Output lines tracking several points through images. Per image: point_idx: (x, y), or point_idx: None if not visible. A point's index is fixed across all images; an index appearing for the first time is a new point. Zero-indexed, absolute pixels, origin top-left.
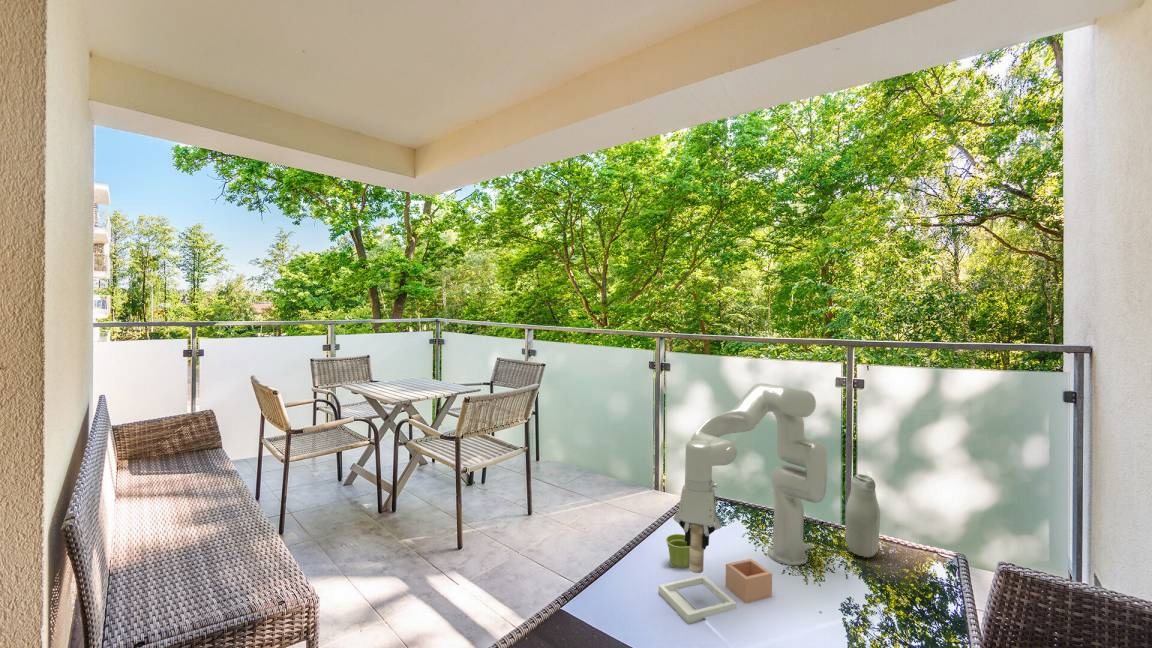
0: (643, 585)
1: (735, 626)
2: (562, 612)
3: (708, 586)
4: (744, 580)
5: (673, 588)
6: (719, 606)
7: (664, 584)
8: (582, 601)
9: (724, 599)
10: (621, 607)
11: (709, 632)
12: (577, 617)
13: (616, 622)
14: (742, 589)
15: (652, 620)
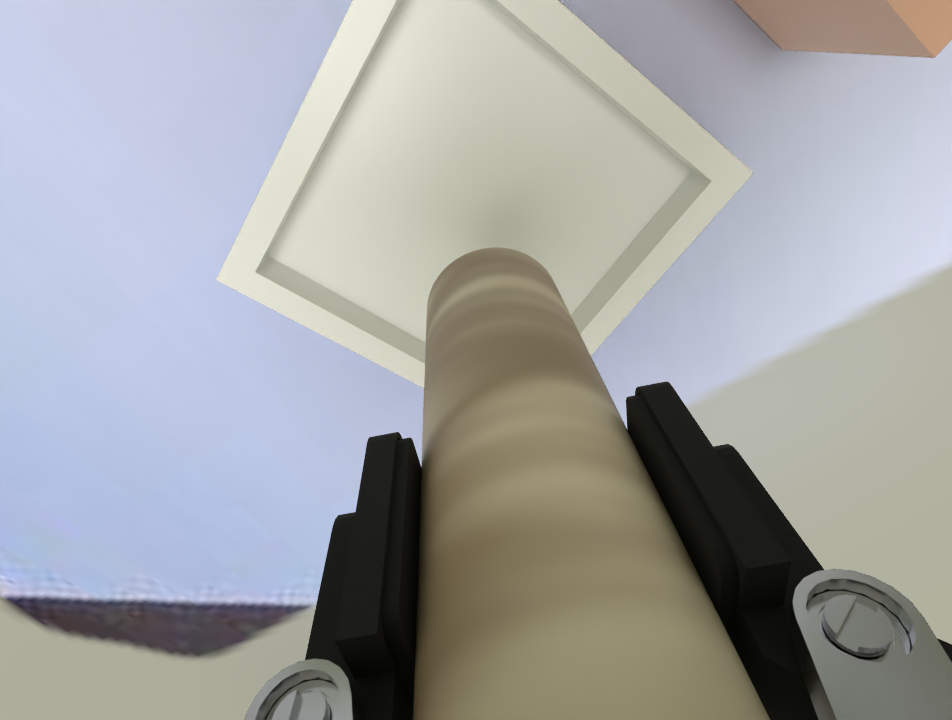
0: (94, 229)
1: (730, 296)
2: (36, 607)
3: (501, 8)
4: (901, 39)
5: (295, 199)
6: (653, 276)
7: (240, 249)
8: (13, 525)
9: (658, 138)
10: (182, 468)
11: (618, 404)
12: (108, 599)
13: (249, 548)
14: (820, 23)
15: (360, 467)
